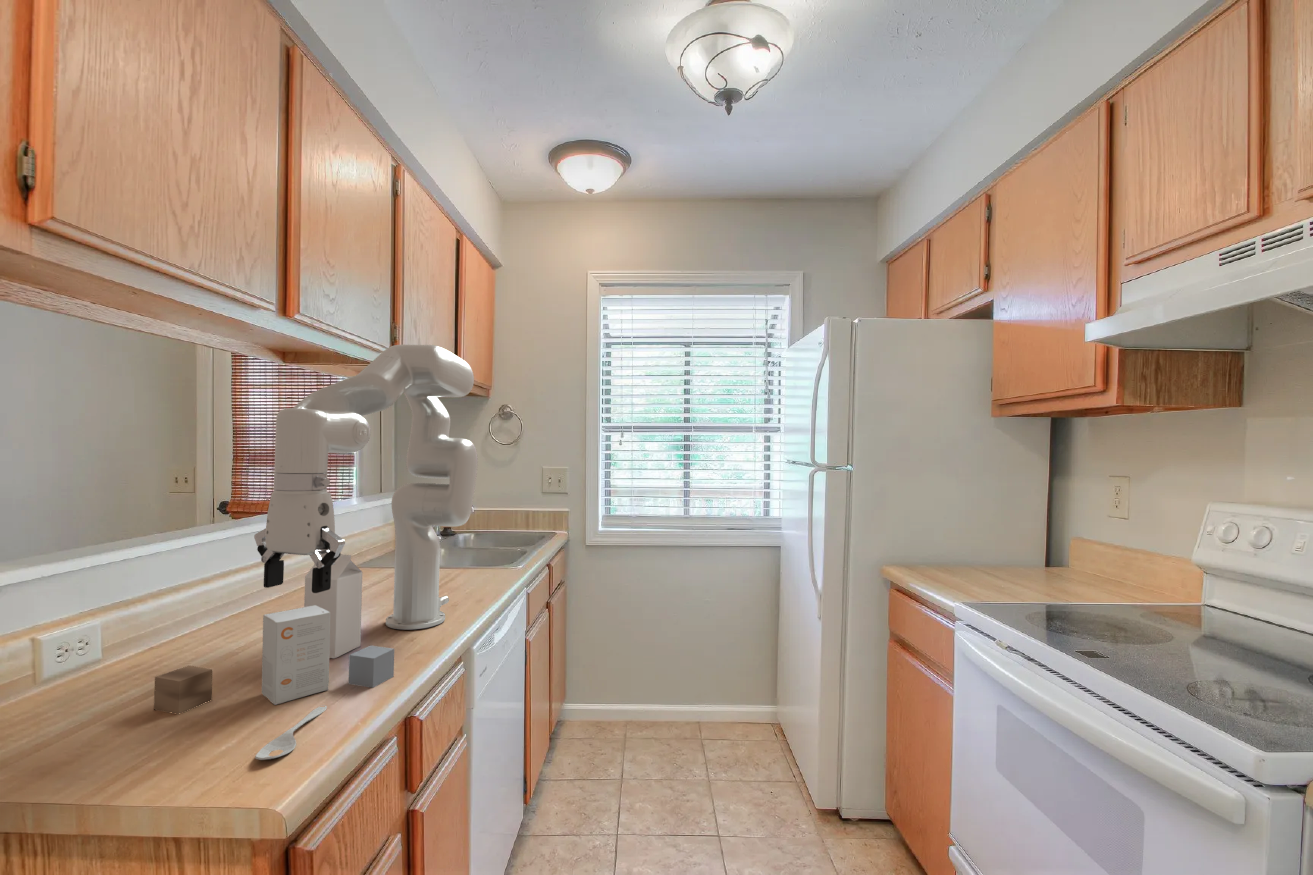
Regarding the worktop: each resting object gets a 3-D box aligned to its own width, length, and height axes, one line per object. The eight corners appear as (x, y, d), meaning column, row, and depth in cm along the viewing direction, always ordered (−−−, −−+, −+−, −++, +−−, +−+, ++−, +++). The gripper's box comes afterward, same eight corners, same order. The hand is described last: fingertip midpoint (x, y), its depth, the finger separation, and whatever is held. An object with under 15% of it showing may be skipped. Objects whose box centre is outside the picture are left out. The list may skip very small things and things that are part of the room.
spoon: (244, 771, 75) (244, 758, 75) (318, 700, 96) (319, 690, 96) (278, 770, 76) (279, 757, 76) (345, 699, 96) (346, 689, 96)
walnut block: (187, 696, 95) (188, 665, 95) (211, 701, 94) (212, 669, 94) (153, 710, 90) (154, 677, 90) (178, 714, 89) (179, 681, 89)
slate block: (369, 673, 106) (370, 645, 106) (393, 677, 105) (394, 648, 105) (348, 684, 101) (349, 654, 101) (373, 688, 100) (373, 658, 100)
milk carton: (334, 659, 112) (337, 558, 112) (302, 655, 114) (305, 556, 114) (360, 646, 119) (363, 551, 119) (329, 643, 121) (332, 549, 121)
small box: (314, 679, 103) (316, 604, 103) (329, 690, 99) (331, 611, 99) (259, 694, 96) (262, 613, 97) (273, 706, 92) (276, 622, 92)
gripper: (361, 484, 99) (358, 588, 99) (279, 480, 104) (275, 579, 103) (325, 487, 92) (321, 599, 91) (238, 482, 96) (234, 589, 96)
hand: (297, 588), depth 97 cm, fingers open, 9 cm apart
